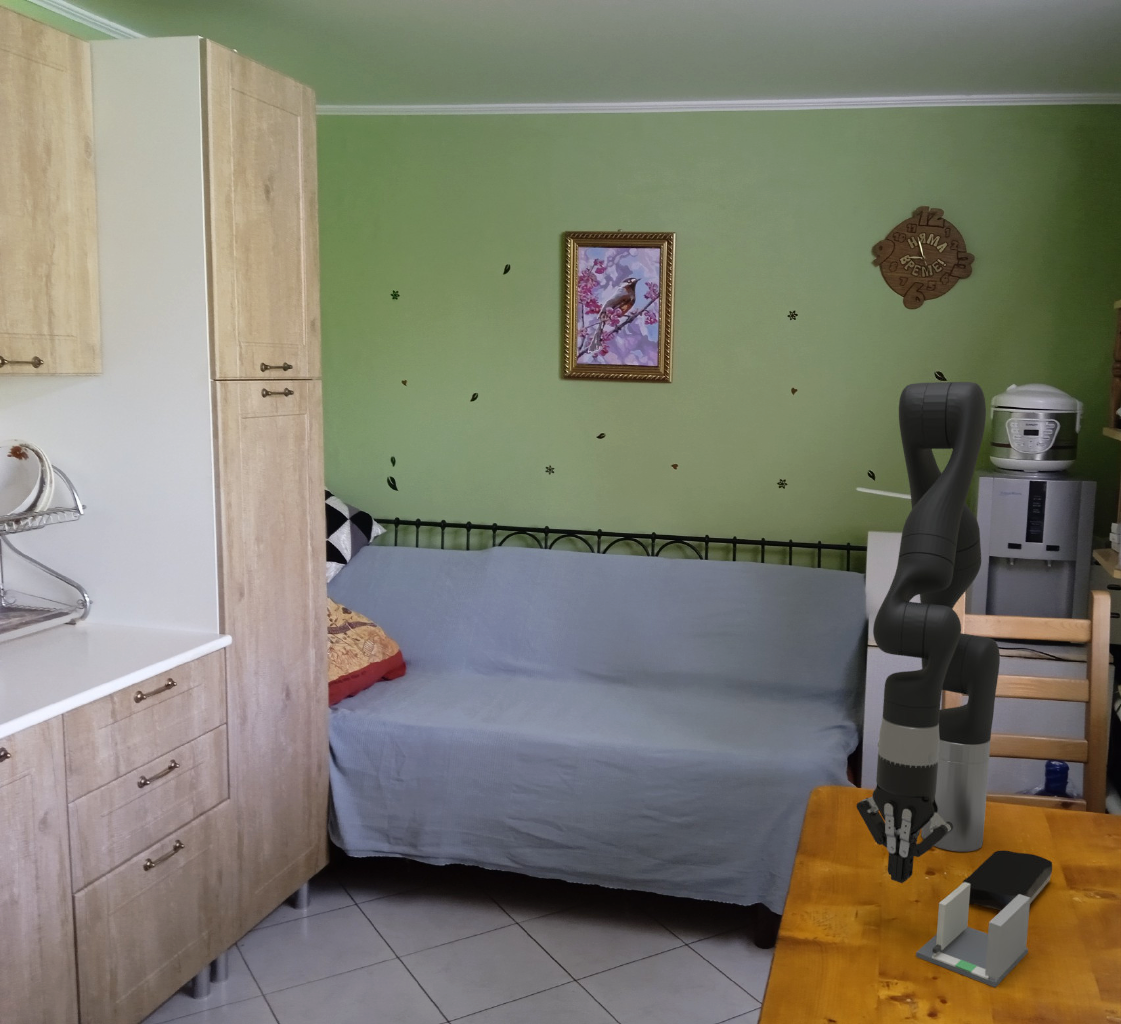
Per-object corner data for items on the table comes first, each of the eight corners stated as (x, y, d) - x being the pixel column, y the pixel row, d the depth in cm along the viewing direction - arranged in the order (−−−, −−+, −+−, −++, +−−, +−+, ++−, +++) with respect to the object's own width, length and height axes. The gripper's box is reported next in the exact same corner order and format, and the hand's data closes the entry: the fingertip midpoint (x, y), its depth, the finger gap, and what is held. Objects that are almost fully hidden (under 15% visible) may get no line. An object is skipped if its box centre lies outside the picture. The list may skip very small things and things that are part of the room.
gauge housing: (951, 924, 147) (955, 871, 146) (1027, 952, 141) (1032, 896, 140) (915, 956, 139) (919, 899, 138) (995, 987, 133) (1000, 927, 132)
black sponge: (1019, 924, 148) (1021, 899, 148) (956, 904, 154) (958, 879, 153) (1054, 883, 161) (1056, 859, 160) (995, 865, 166) (997, 842, 166)
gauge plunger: (961, 924, 145) (964, 881, 144) (967, 926, 144) (970, 883, 143) (931, 951, 138) (934, 906, 137) (937, 954, 137) (940, 908, 136)
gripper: (969, 759, 142) (959, 887, 144) (874, 734, 151) (866, 855, 153) (945, 773, 136) (935, 906, 138) (848, 747, 145) (840, 872, 147)
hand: (899, 879), depth 145 cm, fingers closed
